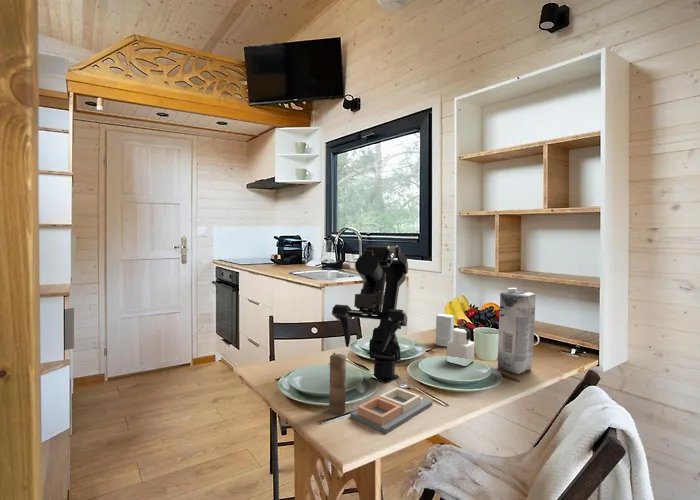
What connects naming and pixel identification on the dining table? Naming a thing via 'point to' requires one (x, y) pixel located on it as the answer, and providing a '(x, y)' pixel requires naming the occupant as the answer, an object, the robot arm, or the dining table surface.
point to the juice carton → (516, 330)
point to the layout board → (390, 409)
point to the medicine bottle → (461, 344)
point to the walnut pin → (337, 384)
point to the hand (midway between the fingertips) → (364, 348)
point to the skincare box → (444, 329)
